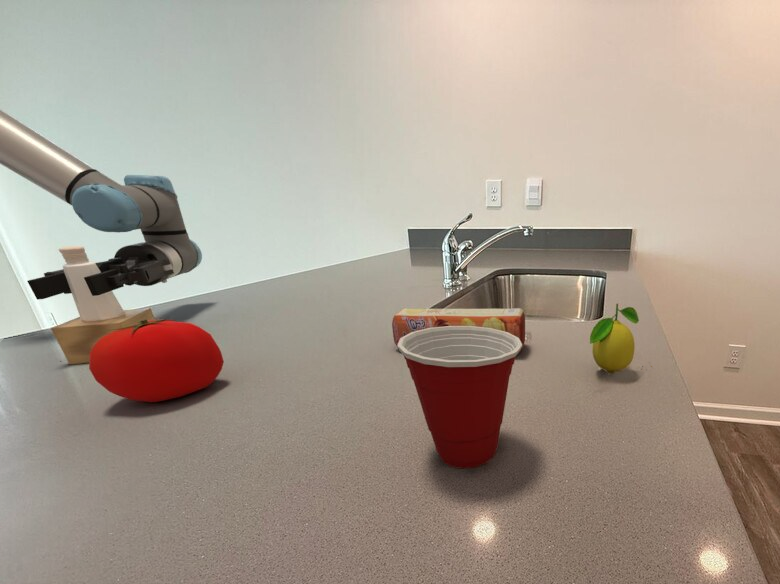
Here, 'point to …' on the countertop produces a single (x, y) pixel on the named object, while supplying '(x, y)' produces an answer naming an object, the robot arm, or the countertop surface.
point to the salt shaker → (85, 302)
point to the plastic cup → (462, 387)
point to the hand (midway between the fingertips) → (63, 288)
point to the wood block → (93, 333)
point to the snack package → (459, 320)
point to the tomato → (156, 360)
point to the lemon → (614, 341)
